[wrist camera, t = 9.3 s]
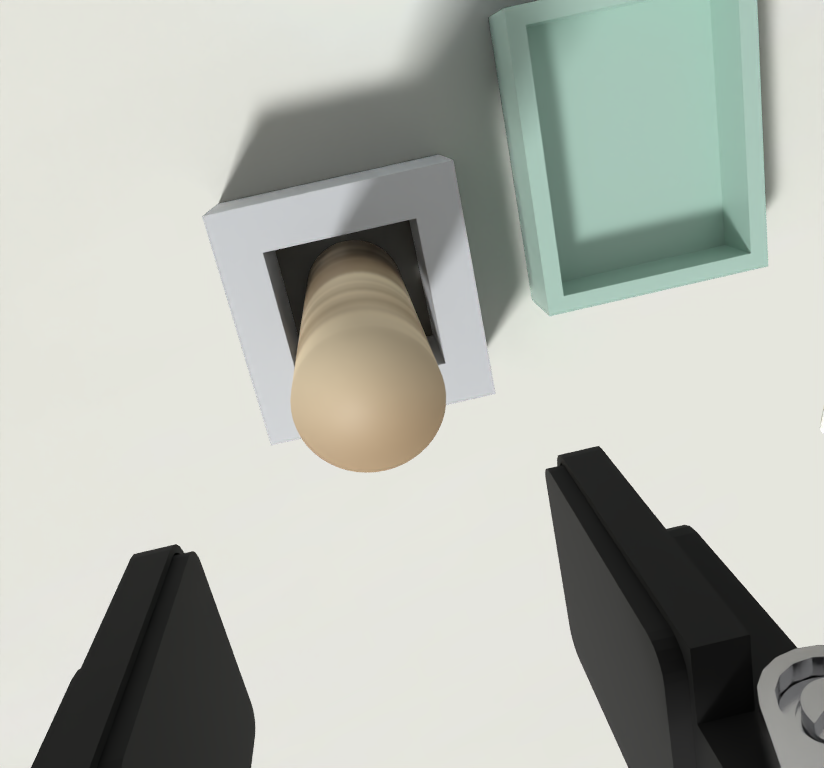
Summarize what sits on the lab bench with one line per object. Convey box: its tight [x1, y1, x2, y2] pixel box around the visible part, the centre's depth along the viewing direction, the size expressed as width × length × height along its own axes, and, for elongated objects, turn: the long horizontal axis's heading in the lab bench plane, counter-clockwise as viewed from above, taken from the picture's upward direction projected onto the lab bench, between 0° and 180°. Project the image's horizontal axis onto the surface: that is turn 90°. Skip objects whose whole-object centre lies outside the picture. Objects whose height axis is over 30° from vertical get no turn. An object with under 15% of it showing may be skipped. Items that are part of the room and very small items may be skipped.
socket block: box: [202, 154, 496, 445], centre depth 27 cm, size 8×8×4 cm
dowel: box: [290, 240, 446, 472], centre depth 23 cm, size 4×4×12 cm
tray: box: [488, 0, 768, 316], centre depth 26 cm, size 10×8×2 cm
